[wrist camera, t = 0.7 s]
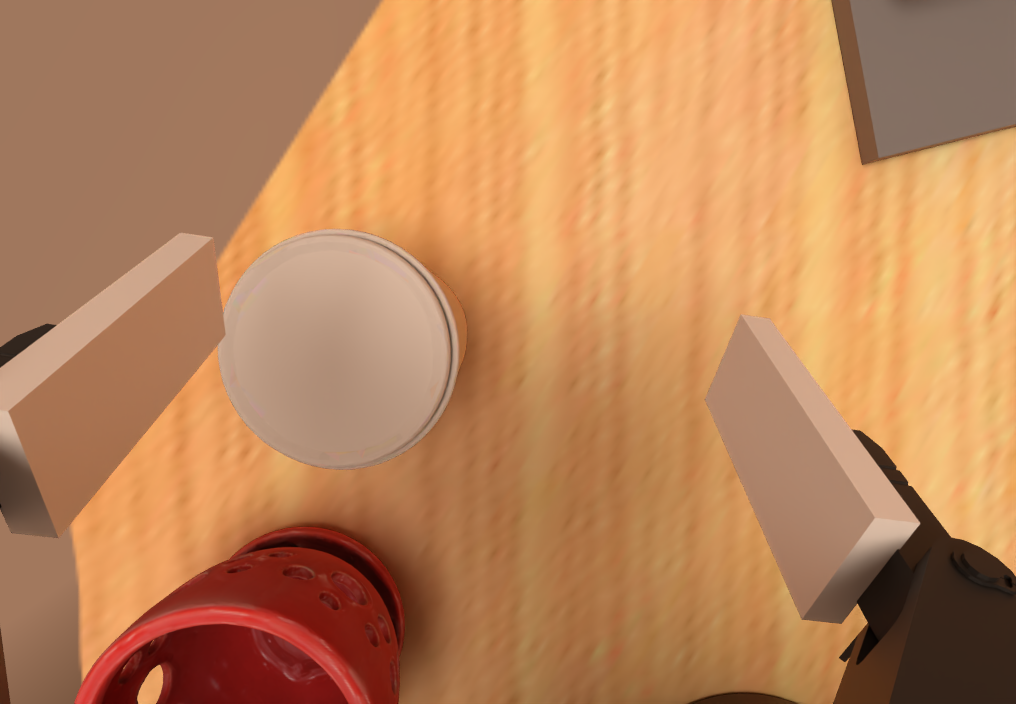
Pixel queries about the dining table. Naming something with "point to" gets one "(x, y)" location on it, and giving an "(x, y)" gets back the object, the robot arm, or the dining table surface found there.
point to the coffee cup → (341, 348)
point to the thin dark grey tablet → (927, 71)
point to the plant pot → (267, 630)
